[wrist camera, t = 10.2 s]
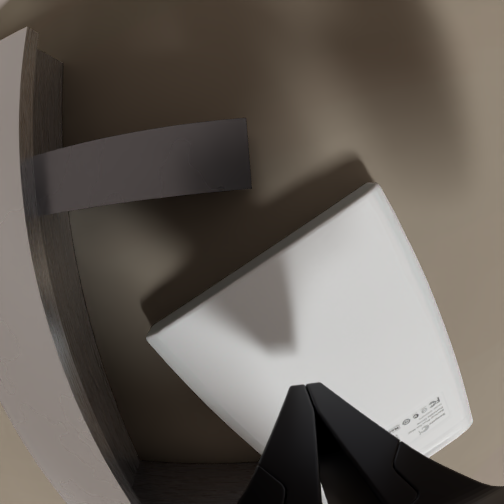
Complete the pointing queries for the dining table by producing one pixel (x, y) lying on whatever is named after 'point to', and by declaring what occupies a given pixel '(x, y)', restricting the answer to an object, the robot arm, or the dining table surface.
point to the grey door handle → (69, 287)
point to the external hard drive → (324, 331)
